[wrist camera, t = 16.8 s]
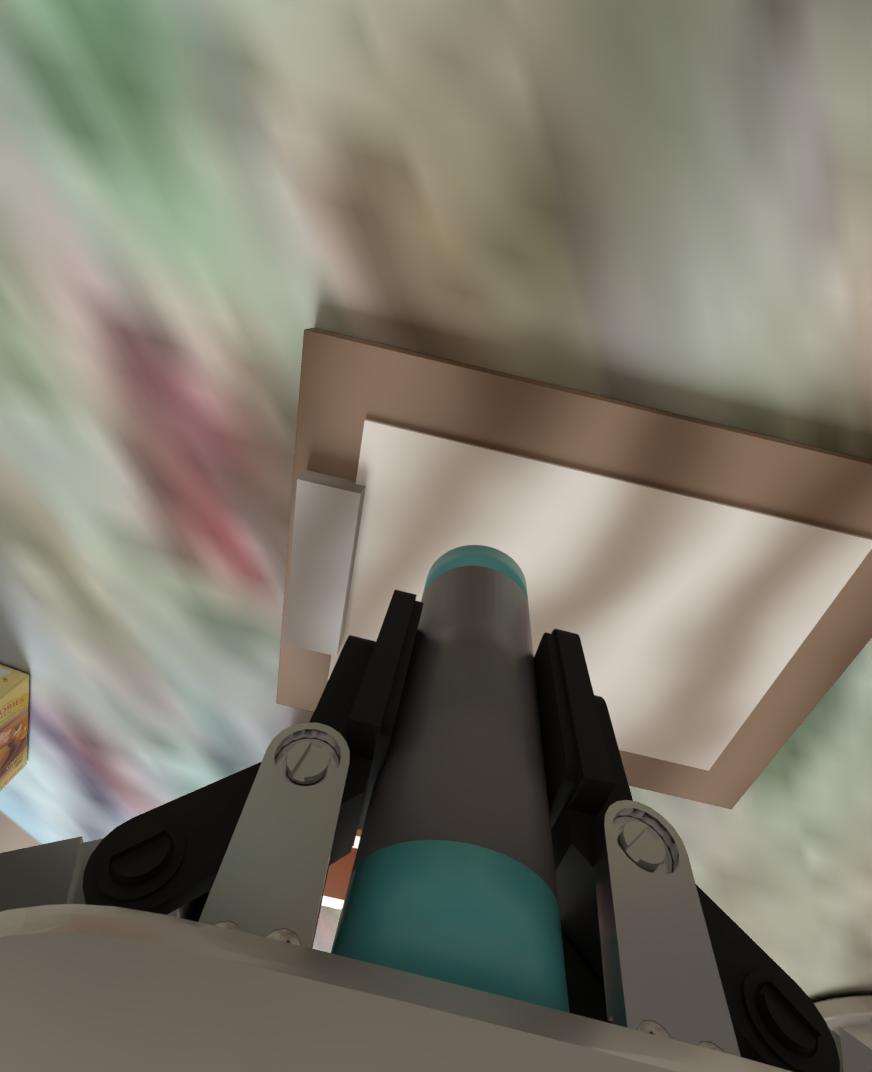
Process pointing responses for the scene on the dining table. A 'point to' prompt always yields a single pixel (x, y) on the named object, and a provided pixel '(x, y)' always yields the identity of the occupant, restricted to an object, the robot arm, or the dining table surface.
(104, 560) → the dining table surface
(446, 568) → the marker
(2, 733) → the candy box
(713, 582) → the clipboard
